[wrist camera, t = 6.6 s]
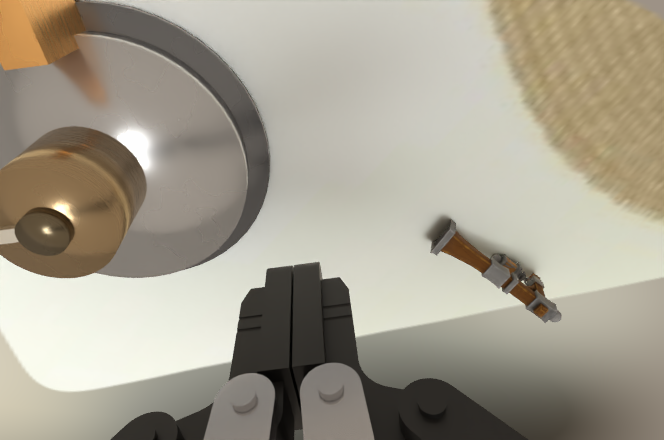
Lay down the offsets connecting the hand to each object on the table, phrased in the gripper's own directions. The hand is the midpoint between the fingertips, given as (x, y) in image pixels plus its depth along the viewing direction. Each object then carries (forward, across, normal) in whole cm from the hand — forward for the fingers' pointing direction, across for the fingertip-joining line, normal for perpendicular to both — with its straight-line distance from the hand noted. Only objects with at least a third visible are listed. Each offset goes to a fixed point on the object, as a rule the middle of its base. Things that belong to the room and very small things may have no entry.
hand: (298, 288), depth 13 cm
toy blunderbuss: (+12, -10, +8) cm, 18 cm away
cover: (+9, +10, 0) cm, 13 cm away
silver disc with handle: (+10, +8, -2) cm, 13 cm away
